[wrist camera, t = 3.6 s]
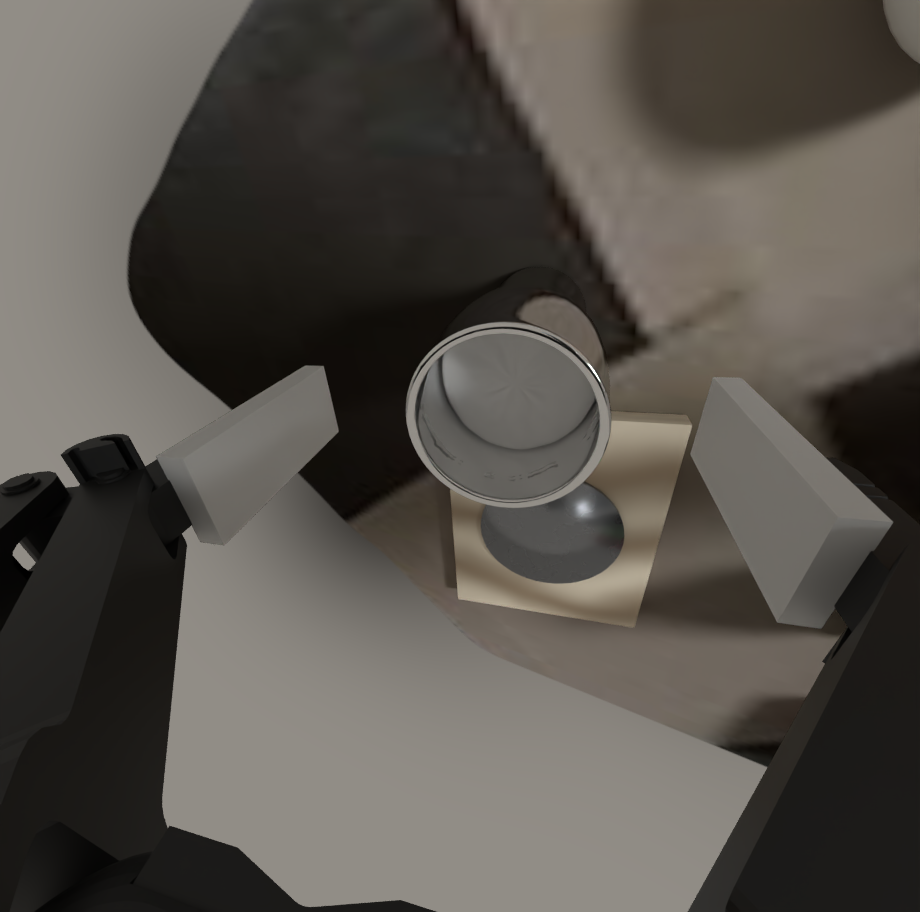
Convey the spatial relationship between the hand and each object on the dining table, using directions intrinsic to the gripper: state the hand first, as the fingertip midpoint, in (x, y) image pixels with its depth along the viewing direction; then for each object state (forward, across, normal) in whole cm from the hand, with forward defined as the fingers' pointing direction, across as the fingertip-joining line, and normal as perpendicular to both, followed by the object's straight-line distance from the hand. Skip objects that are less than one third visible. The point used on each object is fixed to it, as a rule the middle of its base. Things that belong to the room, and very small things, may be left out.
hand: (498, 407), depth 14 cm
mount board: (+14, -2, +16) cm, 21 cm away
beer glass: (+14, 0, 0) cm, 14 cm away
